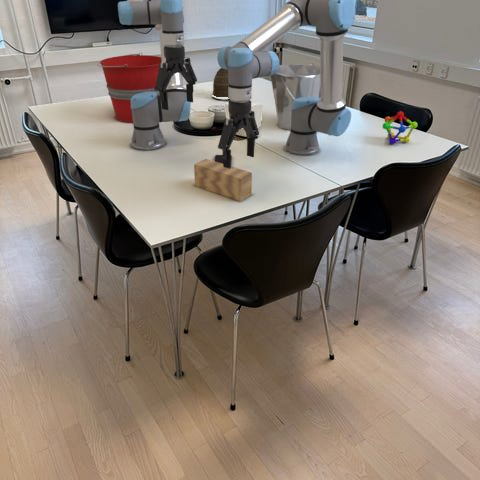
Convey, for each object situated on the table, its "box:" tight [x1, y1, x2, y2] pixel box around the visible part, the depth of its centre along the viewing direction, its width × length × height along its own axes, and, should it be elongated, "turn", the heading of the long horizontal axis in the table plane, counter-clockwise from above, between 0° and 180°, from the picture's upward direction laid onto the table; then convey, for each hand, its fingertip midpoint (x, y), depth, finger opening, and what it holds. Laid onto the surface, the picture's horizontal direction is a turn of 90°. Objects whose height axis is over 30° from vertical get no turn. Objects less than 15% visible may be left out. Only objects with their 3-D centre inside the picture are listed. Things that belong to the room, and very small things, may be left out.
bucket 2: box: [270, 63, 321, 131], centre depth 226 cm, size 30×30×28 cm
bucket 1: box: [96, 52, 162, 124], centre depth 238 cm, size 35×35×30 cm
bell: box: [212, 67, 229, 97], centre depth 278 cm, size 19×26×20 cm
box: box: [193, 158, 253, 202], centre depth 164 cm, size 22×7×9 cm, turn 53°
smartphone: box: [213, 154, 233, 164], centre depth 188 cm, size 7×1×15 cm
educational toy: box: [382, 110, 418, 145], centre depth 207 cm, size 16×13×15 cm
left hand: (178, 105), depth 170 cm, fingers open, 13 cm apart
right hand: (239, 161), depth 155 cm, fingers open, 13 cm apart
